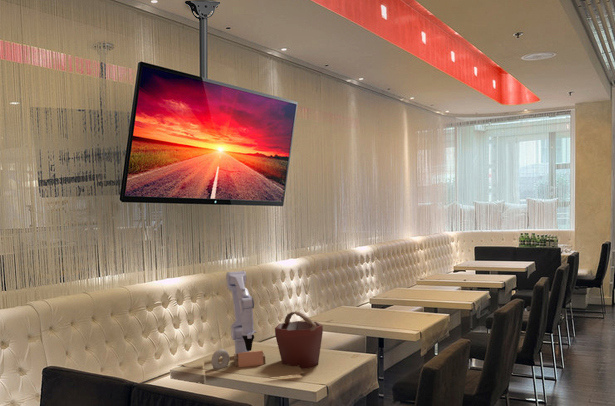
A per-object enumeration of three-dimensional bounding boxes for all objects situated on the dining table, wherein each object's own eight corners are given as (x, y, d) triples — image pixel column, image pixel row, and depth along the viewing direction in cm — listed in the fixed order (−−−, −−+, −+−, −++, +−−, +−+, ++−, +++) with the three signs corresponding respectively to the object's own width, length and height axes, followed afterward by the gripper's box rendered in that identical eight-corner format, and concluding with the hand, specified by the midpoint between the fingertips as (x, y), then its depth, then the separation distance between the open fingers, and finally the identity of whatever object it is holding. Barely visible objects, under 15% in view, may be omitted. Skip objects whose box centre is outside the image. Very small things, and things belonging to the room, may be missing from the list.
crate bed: (234, 364, 287) (233, 353, 287) (262, 361, 289) (262, 351, 290) (236, 369, 276) (235, 359, 276) (265, 366, 279) (265, 356, 279)
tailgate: (238, 367, 276) (237, 352, 276) (263, 364, 278) (262, 350, 278) (238, 368, 275) (237, 353, 275) (263, 365, 277) (263, 350, 277)
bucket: (329, 368, 271) (326, 314, 271) (283, 374, 265) (280, 318, 265) (314, 356, 295) (311, 306, 295) (271, 361, 289) (268, 310, 289)
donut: (214, 373, 272) (213, 351, 272) (210, 372, 274) (209, 351, 274) (231, 368, 279) (230, 347, 279) (226, 367, 281) (225, 346, 281)
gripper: (257, 324, 278) (258, 353, 277) (254, 319, 292) (255, 346, 292) (242, 325, 276) (244, 354, 276) (239, 320, 290) (241, 347, 290)
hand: (248, 350), depth 284 cm, fingers closed
